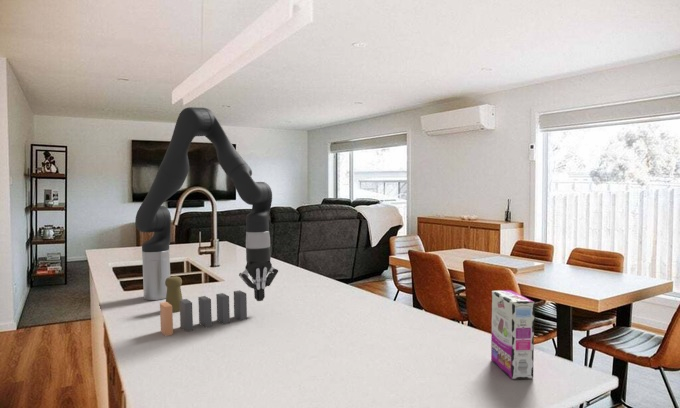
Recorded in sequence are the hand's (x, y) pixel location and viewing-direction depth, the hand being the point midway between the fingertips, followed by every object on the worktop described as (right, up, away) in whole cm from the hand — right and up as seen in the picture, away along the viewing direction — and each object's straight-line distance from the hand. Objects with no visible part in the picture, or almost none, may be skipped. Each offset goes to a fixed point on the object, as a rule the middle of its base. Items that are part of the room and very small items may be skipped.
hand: (259, 300), depth 146 cm
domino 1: (-19, -5, -13) cm, 23 cm away
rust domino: (-23, -6, -16) cm, 29 cm away
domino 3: (-10, -5, -7) cm, 13 cm away
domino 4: (-5, -5, -3) cm, 8 cm away
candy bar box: (+63, -6, -44) cm, 77 cm away
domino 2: (-14, -5, -10) cm, 18 cm away
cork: (-29, -5, +7) cm, 30 cm away
